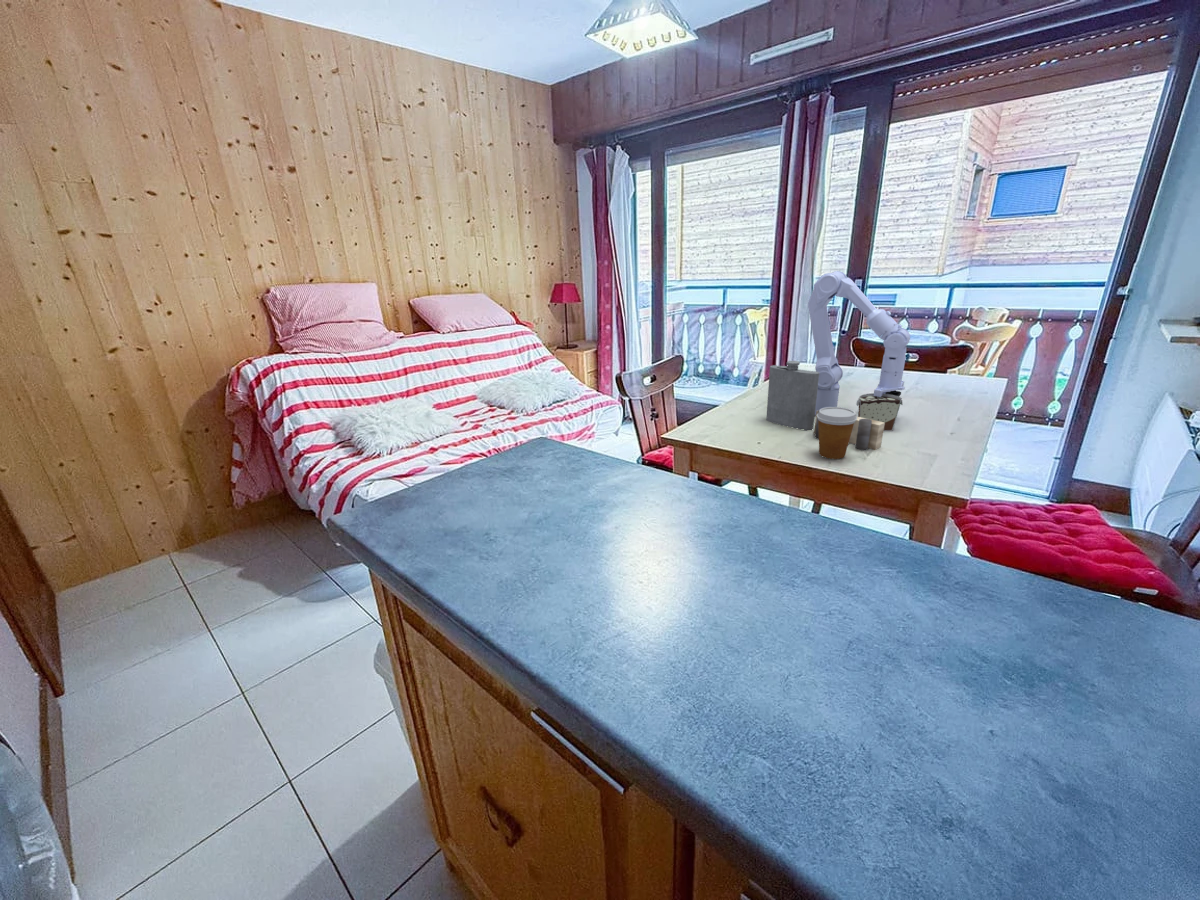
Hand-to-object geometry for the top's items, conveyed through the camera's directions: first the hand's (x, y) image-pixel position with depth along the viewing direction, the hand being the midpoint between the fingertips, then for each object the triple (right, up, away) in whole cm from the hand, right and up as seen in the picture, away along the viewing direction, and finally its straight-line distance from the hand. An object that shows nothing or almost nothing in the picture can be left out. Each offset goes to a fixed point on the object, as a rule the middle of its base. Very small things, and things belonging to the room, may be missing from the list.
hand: (884, 414), depth 153 cm
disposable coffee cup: (-25, -12, -20) cm, 35 cm away
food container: (-6, -4, -3) cm, 8 cm away
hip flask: (-28, -3, +4) cm, 29 cm away
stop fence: (-19, -8, -12) cm, 24 cm away
